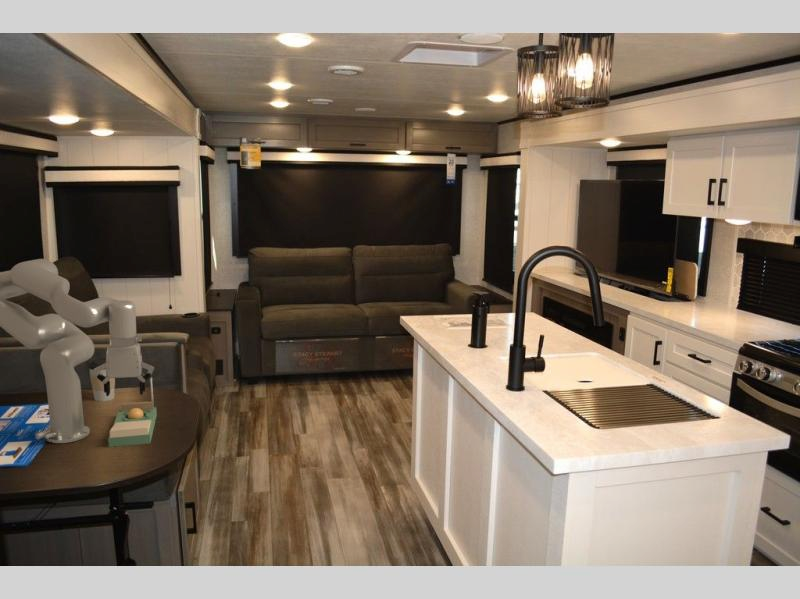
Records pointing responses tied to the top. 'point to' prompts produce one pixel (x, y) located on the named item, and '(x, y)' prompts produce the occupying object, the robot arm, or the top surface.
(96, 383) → the coffee cup
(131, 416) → the ball
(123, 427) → the putting mat
